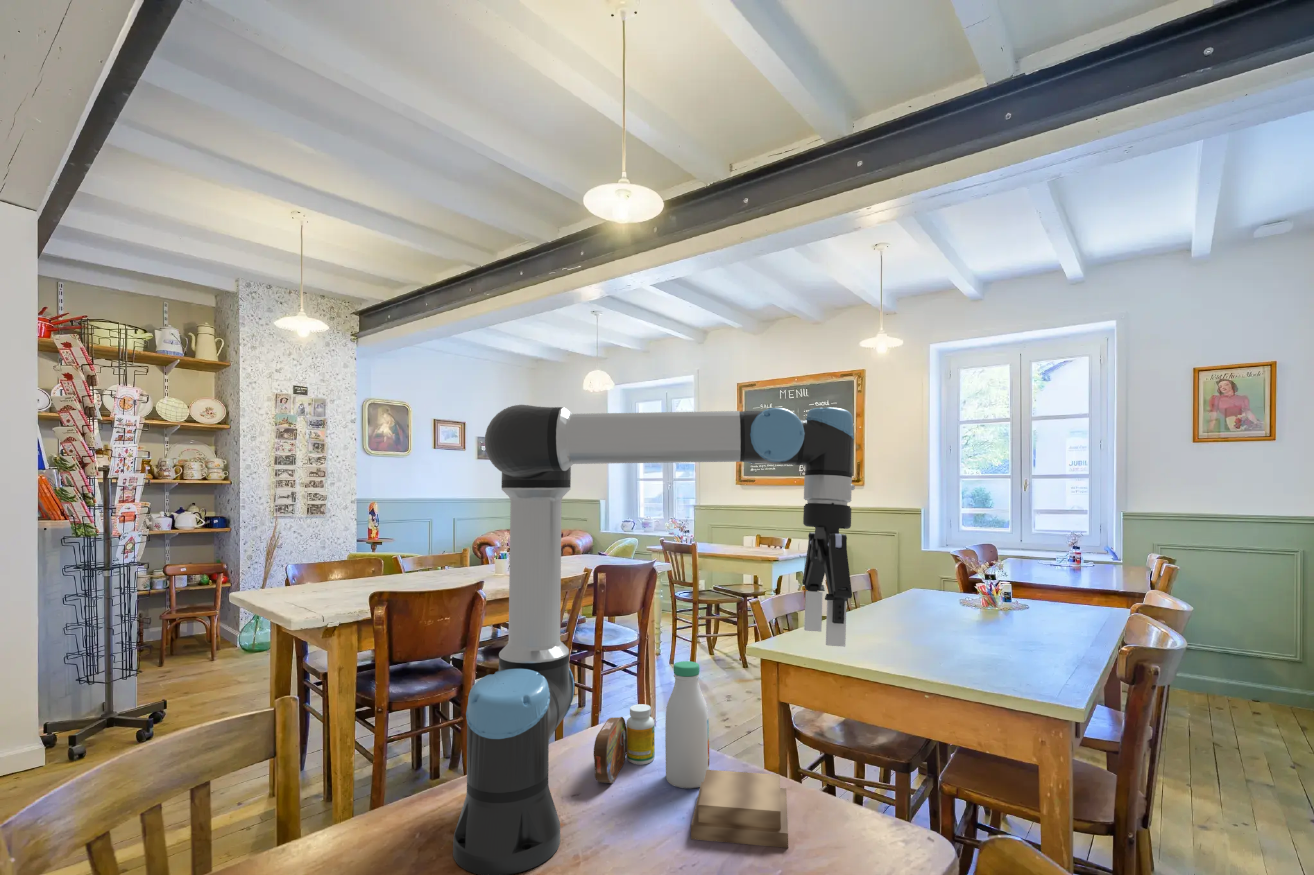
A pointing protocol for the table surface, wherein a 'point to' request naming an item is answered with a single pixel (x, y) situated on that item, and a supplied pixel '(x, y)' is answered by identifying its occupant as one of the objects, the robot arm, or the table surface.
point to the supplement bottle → (640, 735)
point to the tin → (610, 750)
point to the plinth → (742, 831)
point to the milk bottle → (686, 729)
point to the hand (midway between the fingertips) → (823, 638)
